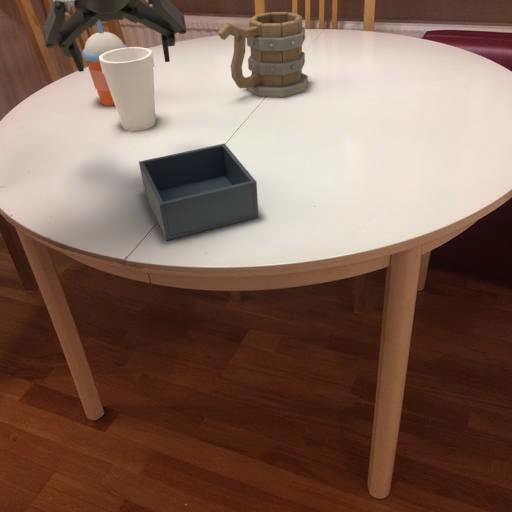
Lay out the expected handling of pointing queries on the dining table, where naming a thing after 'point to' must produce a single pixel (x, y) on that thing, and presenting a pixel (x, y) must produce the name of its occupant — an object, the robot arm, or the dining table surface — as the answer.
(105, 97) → the cup with straw
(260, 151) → the dining table surface
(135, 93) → the foam cup
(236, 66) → the tankard
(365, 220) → the dining table surface
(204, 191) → the bin
